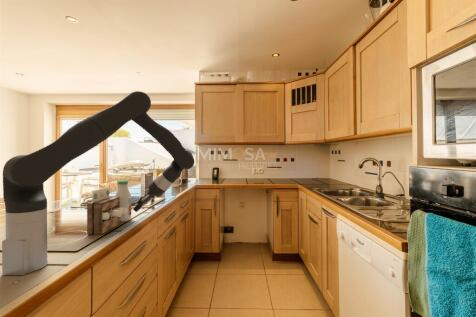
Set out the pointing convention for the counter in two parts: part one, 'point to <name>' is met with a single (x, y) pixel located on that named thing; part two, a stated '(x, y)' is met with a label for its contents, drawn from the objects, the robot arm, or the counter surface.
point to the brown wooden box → (95, 215)
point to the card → (100, 194)
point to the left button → (105, 216)
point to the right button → (124, 210)
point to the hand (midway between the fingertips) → (135, 210)
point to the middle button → (115, 213)
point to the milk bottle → (124, 199)
